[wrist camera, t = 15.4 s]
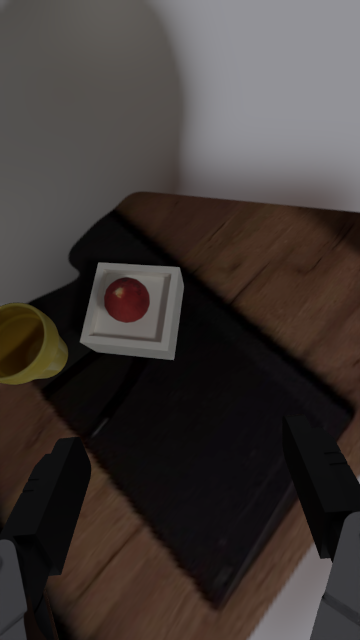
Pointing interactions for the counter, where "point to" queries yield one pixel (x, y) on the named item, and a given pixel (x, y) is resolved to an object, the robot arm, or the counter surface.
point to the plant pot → (28, 345)
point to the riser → (146, 333)
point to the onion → (126, 300)
